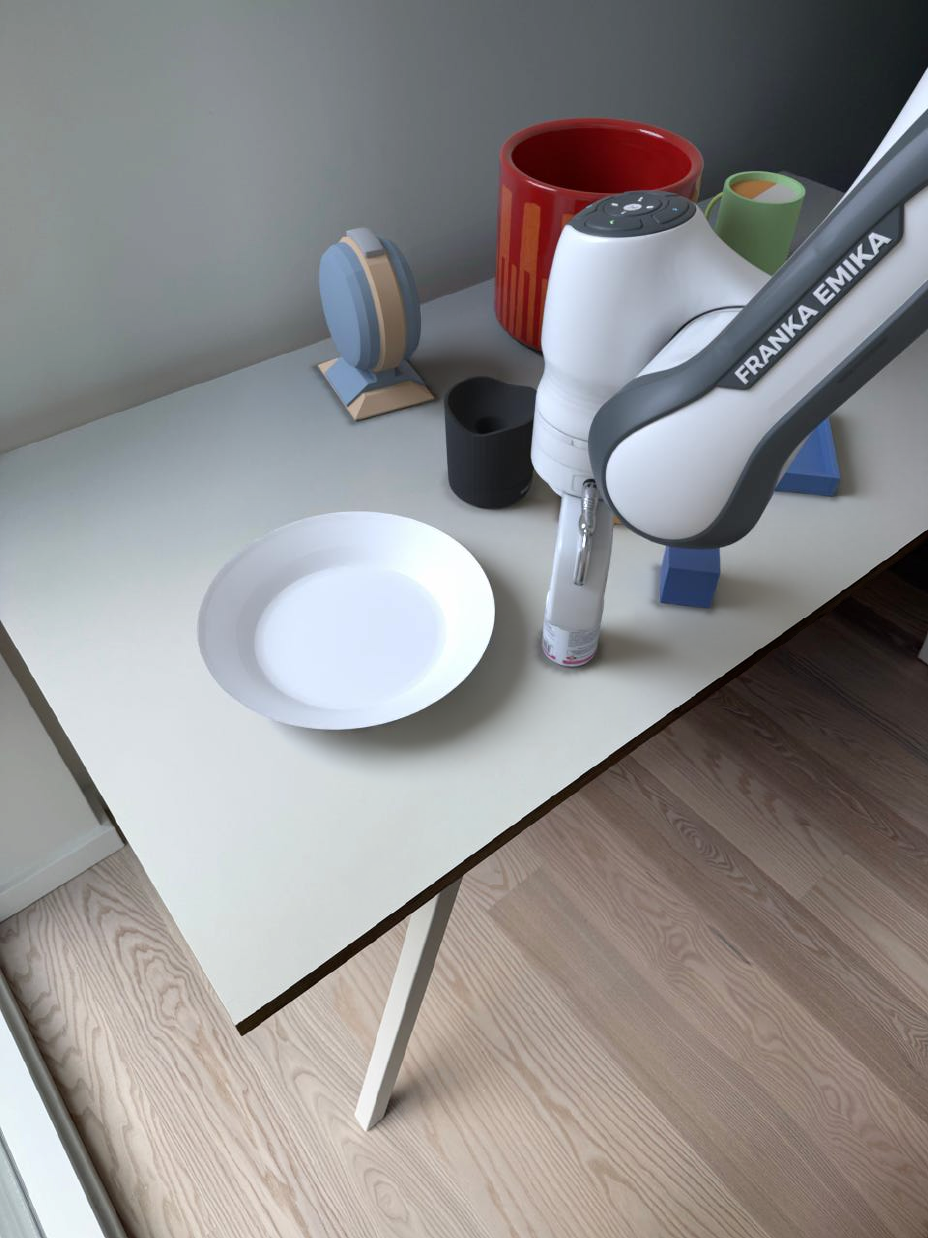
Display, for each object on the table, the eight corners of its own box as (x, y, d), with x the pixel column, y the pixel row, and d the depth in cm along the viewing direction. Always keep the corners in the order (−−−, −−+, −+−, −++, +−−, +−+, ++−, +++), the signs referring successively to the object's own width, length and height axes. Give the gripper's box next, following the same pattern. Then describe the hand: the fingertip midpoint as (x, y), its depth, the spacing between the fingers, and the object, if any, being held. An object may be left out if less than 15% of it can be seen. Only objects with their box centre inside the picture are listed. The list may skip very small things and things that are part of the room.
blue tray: (819, 416, 101) (825, 398, 99) (833, 496, 92) (840, 478, 90) (710, 405, 102) (714, 387, 100) (712, 483, 93) (717, 465, 91)
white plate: (147, 643, 78) (136, 616, 75) (356, 504, 90) (353, 476, 88) (344, 814, 66) (339, 788, 64) (551, 628, 79) (554, 600, 76)
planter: (556, 387, 105) (573, 213, 90) (461, 300, 118) (462, 137, 103) (709, 337, 112) (749, 169, 97) (603, 261, 126) (623, 103, 111)
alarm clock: (438, 404, 102) (435, 253, 89) (358, 425, 99) (344, 273, 86) (389, 344, 111) (381, 198, 98) (315, 362, 108) (296, 215, 95)
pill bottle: (603, 637, 78) (616, 568, 72) (585, 675, 76) (597, 607, 69) (553, 620, 80) (561, 551, 74) (533, 657, 77) (540, 589, 71)
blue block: (709, 574, 84) (719, 538, 81) (710, 608, 81) (720, 573, 78) (660, 568, 84) (669, 533, 81) (659, 602, 81) (668, 567, 78)
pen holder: (468, 523, 88) (469, 440, 81) (430, 469, 94) (428, 387, 87) (551, 497, 91) (560, 415, 84) (509, 446, 97) (514, 365, 89)
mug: (794, 274, 124) (820, 184, 115) (757, 302, 118) (781, 210, 109) (715, 246, 129) (734, 158, 120) (676, 271, 124) (693, 182, 115)
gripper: (637, 548, 54) (606, 687, 64) (646, 365, 68) (619, 504, 78) (534, 535, 55) (520, 675, 65) (563, 356, 68) (547, 496, 78)
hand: (574, 581), depth 72 cm, fingers open, 8 cm apart
